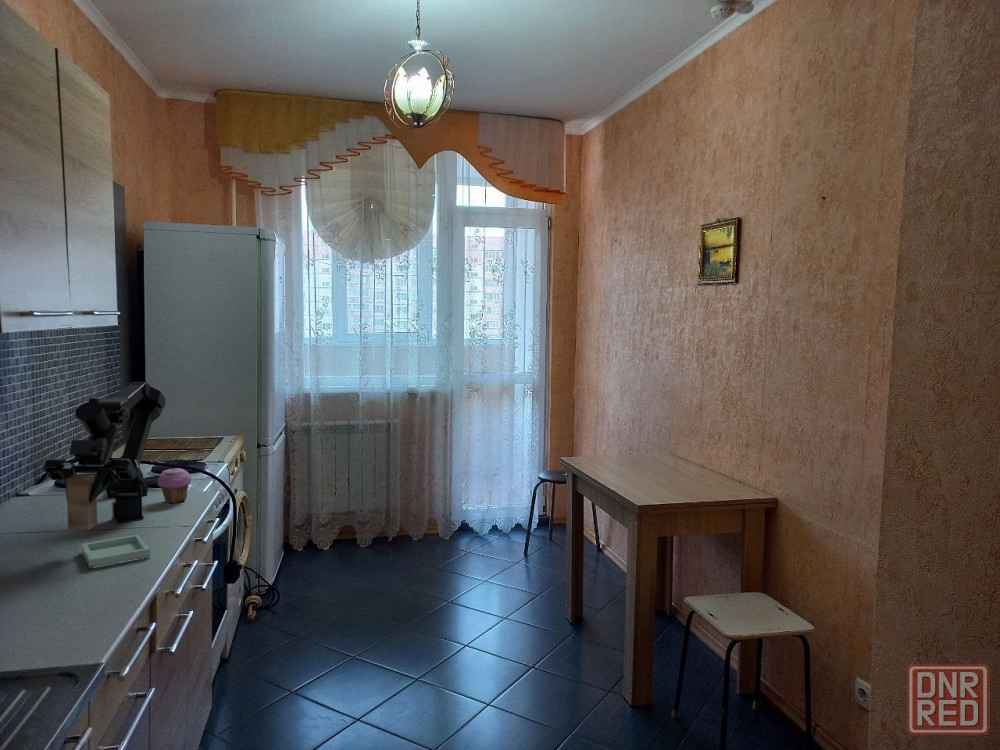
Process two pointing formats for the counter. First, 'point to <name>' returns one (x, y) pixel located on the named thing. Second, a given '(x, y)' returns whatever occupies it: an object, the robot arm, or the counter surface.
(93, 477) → the tan wooden block
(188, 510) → the counter surface
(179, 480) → the cupcake
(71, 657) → the counter surface
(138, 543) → the tray
